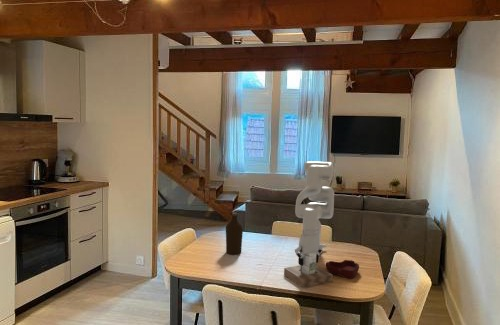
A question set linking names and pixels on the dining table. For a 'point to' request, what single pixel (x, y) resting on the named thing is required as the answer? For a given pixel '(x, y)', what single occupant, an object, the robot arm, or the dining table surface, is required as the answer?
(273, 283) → the dining table surface
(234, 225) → the olive oil
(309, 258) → the syrup box
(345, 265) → the ashtray
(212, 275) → the dining table surface
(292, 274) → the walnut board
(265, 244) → the dining table surface
